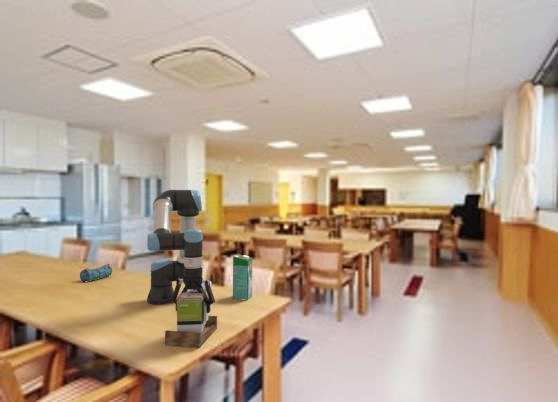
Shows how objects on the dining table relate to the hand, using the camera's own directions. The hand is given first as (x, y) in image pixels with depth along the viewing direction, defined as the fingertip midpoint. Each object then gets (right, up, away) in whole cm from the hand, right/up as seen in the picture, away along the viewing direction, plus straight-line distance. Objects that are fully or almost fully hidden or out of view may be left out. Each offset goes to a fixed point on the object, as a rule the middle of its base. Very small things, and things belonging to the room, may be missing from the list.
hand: (192, 319), depth 138 cm
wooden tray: (0, -7, 0) cm, 7 cm away
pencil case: (-97, -8, +103) cm, 141 cm away
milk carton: (+15, -8, +57) cm, 59 cm away
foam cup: (-5, -7, +40) cm, 41 cm away
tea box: (0, -3, 0) cm, 3 cm away
